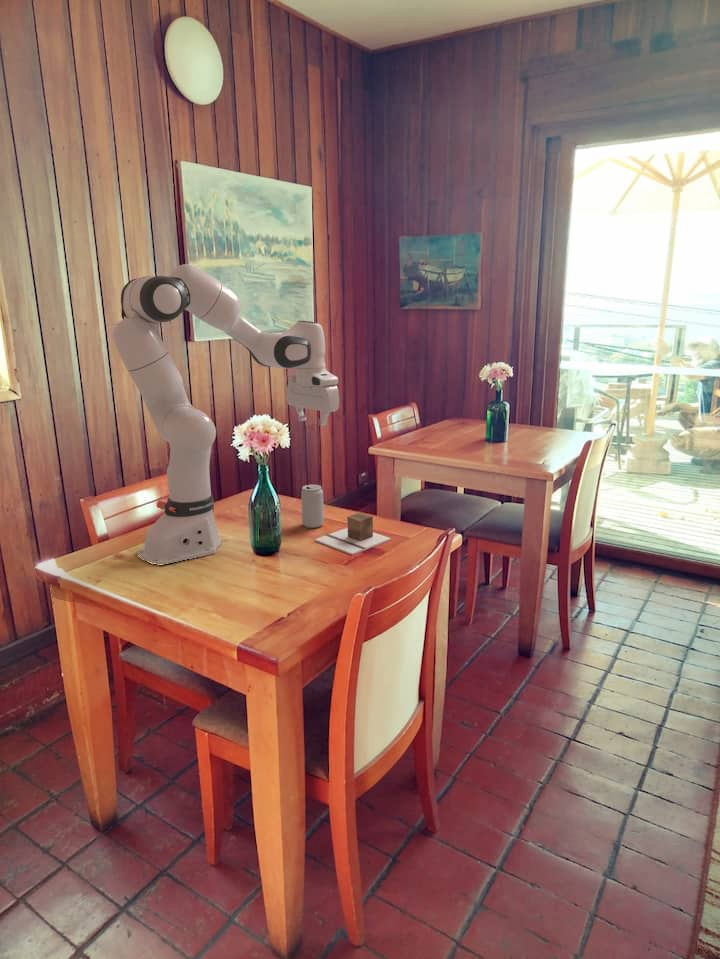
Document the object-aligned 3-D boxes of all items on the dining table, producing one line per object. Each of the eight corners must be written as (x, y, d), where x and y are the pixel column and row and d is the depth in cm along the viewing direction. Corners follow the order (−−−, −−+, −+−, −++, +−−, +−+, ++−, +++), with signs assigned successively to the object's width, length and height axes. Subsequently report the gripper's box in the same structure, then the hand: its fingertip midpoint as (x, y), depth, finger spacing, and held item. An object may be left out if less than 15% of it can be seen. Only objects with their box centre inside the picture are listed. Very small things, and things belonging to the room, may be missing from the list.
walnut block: (360, 541, 182) (359, 521, 180) (347, 536, 185) (347, 516, 184) (372, 536, 185) (372, 516, 184) (360, 532, 189) (360, 512, 187)
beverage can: (299, 523, 198) (297, 485, 195) (319, 520, 200) (318, 482, 197) (306, 530, 192) (305, 491, 189) (327, 526, 195) (326, 488, 192)
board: (352, 555, 174) (352, 552, 174) (315, 540, 184) (315, 538, 184) (390, 539, 184) (390, 537, 184) (353, 527, 194) (353, 525, 194)
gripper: (280, 375, 199) (282, 420, 203) (325, 381, 185) (327, 429, 189) (296, 373, 203) (298, 417, 207) (342, 378, 189) (343, 426, 193)
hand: (312, 423), depth 198 cm, fingers open, 8 cm apart
